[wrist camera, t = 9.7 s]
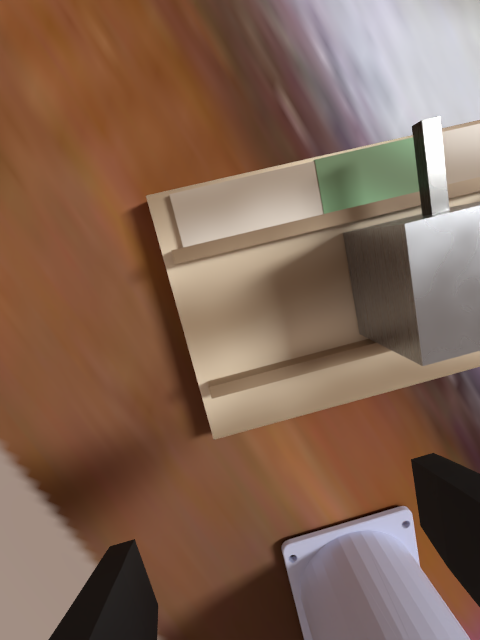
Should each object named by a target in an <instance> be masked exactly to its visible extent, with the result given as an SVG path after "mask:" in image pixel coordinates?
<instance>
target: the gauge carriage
mask: <svg viewBox="0 0 480 640" xmlns="http://www.w3.org/2000/svg"><path fill="white" fill-rule="evenodd" d="M412 132H413V140H414V149H415V158H416V166H417V175H418V184H419V192H420V201H421V210H422V214H418V215H414V216H410V217H406V218H401V219H397V220H393V221H389V222H385V223H381V224H377V225H373V226H368V227H364V228H360V229H356V230H352V231H348V232H344V233H343V237H344V243H345V250H346V256H347V262H348V268H349V274H350V280H351V286H352V292H353V298H354V304H355V310H356V316H357V322H358V328H359V334H360V335H362V336H364V337H366V338H368V339H370V340H372V341H374V342H376V343H378V344H380V345H382V346H384V347H386V348H388V349H390V350H392V351H394V352H396V353H398V354H400V355H402V356H404V357H406V358H408V359H410V360H411V361H413V362H415V363H417V364H419V365H421V366H425V365H429V364H433V363H436V362H440V361H444V360H447V359H451V358H455V357H459V356H462V355H466V354H470V353H473V352H477V351H480V202H475V203H470V204H464V205H459V206H453V207H449V199H448V189H447V179H446V169H445V159H444V149H443V139H442V128H441V118H440V116H439V117H434V118H430V119H425V120H422V121H420V122H418V123H417V124H415V125H413V126H412Z"/></svg>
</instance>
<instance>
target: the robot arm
mask: <svg viewBox="0 0 480 640" xmlns="http://www.w3.org/2000/svg"><path fill="white" fill-rule="evenodd" d="M411 462H412V469H413V476H414V483H415V490H416V497H417V504H418V511H419V518H420V525H421V527H422V529H423V530H424V532H425V533H426V535H427V536H428V538H429V539H430V541H431V543H432V544H433V546H434V547H435V549H436V550H437V552H438V553H439V555H440V556H441V558H442V559H443V561H444V562H445V564H446V565H447V567H448V568H449V569H450V571H451V572H452V573H453V574H454V576H455V577H456V578H457V579H458V581H459V582H460V583H461V584H462V586H463V587H464V588H465V589H466V591H467V592H468V593H469V594H470V596H471V597H472V598H473V599H474V601H475V602H476V603H477V604H478V606H479V607H480V474H479V473H477V472H475V471H472V470H470V469H468V468H466V467H464V466H462V465H459V464H457V463H455V462H453V461H451V460H448V459H446V458H444V457H442V456H439V455H437V454H434V453H432V454H428V455H425V456H421V457H418V458H414V459H411ZM404 521H405V522H404ZM403 522H404V523H403ZM282 553H283V557H284V561H285V565H286V569H287V573H288V577H289V581H290V585H291V589H292V593H293V597H294V601H295V605H296V609H297V613H298V617H299V621H300V625H301V629H302V633H303V637H304V640H471V639H470V638H469V636H468V635H467V634H466V632H465V631H464V629H463V628H462V626H461V625H460V624H459V622H458V621H457V619H456V618H455V616H454V615H453V614H452V612H451V611H450V609H449V608H448V606H447V605H446V603H445V602H444V601H443V599H442V598H441V596H440V595H439V593H438V592H437V591H436V589H435V588H434V586H433V585H432V583H431V582H430V581H429V579H428V578H427V576H426V575H425V573H424V572H423V571H422V569H421V568H420V564H419V557H418V550H417V544H416V537H415V530H414V523H413V516H412V513H411V511H410V510H409V509H408V508H407V507H405V506H400V507H396V508H393V509H390V510H386V511H383V512H380V513H376V514H373V515H370V516H366V517H363V518H359V519H356V520H353V521H349V522H346V523H343V524H339V525H336V526H333V527H329V528H326V529H322V530H319V531H316V532H312V533H309V534H306V535H302V536H299V537H296V538H292V539H289V540H286V541H285V542H284V543H283V544H282ZM291 555H294V556H292V557H290V556H291ZM157 624H158V603H157V600H156V598H155V595H154V592H153V589H152V587H151V584H150V581H149V578H148V575H147V573H146V570H145V567H144V564H143V561H142V559H141V556H140V553H139V550H138V547H137V545H136V542H135V539H134V540H131V541H127V542H124V543H120V544H117V545H113V546H110V547H109V549H108V550H107V552H106V553H105V555H104V556H103V558H102V559H101V561H100V562H99V564H98V565H97V567H96V568H95V570H94V571H93V573H92V575H91V576H90V578H89V579H88V581H87V582H86V584H85V585H84V587H83V588H82V590H81V591H80V593H79V595H78V596H77V598H76V599H75V601H74V602H73V604H72V605H71V607H70V608H69V610H68V612H67V613H66V614H65V616H64V617H63V619H62V620H61V622H60V623H59V625H58V627H57V628H56V629H55V631H54V633H53V634H52V635H51V637H50V638H49V640H157Z"/></svg>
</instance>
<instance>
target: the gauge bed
mask: <svg viewBox="0 0 480 640" xmlns="http://www.w3.org/2000/svg"><path fill="white" fill-rule="evenodd" d="M442 139H443V149H444V159H445V169H446V179H447V189H448V199H449V207H453V206H459V205H464V204H470V203H475V202H480V120H477V121H473V122H469V123H464V124H460V125H455V126H451V127H447V128H442ZM146 198H147V201H148V205H149V209H150V212H151V216H152V219H153V223H154V227H155V230H156V234H157V237H158V241H159V245H160V248H161V252H162V255H163V259H164V263H165V266H166V270H167V273H168V277H169V281H170V284H171V288H172V291H173V295H174V299H175V302H176V306H177V309H178V313H179V317H180V320H181V324H182V327H183V331H184V335H185V338H186V342H187V345H188V349H189V353H190V356H191V360H192V363H193V367H194V371H195V374H196V378H197V381H198V385H199V389H200V392H201V396H202V399H203V403H204V407H205V410H206V414H207V417H208V421H209V424H210V428H211V432H212V435H213V439H218V438H222V437H225V436H229V435H233V434H236V433H240V432H243V431H247V430H251V429H254V428H258V427H262V426H265V425H269V424H273V423H276V422H280V421H283V420H287V419H291V418H294V417H298V416H302V415H305V414H309V413H313V412H316V411H320V410H323V409H327V408H331V407H334V406H338V405H342V404H345V403H349V402H353V401H356V400H360V399H364V398H367V397H371V396H374V395H378V394H382V393H385V392H389V391H393V390H396V389H400V388H404V387H407V386H411V385H414V384H418V383H422V382H425V381H429V380H433V379H436V378H440V377H444V376H447V375H451V374H454V373H458V372H462V371H465V370H469V369H473V368H476V367H480V351H477V352H473V353H470V354H466V355H462V356H459V357H455V358H451V359H447V360H444V361H440V362H436V363H433V364H429V365H425V366H421V365H419V364H417V363H415V362H413V361H411V360H410V359H408V358H406V357H404V356H402V355H400V354H398V353H396V352H394V351H392V350H390V349H388V348H386V347H384V346H382V345H380V344H378V343H376V342H374V341H372V340H370V339H368V338H366V337H364V336H362V335H360V334H359V328H358V322H357V316H356V310H355V304H354V298H353V292H352V286H351V280H350V274H349V268H348V262H347V256H346V250H345V243H344V237H343V233H344V232H348V231H352V230H356V229H360V228H364V227H368V226H373V225H377V224H381V223H385V222H389V221H393V220H397V219H401V218H406V217H410V216H414V215H418V214H422V210H421V201H420V192H419V184H418V175H417V166H416V158H415V149H414V140H413V135H411V136H407V137H403V138H398V139H394V140H389V141H385V142H381V143H376V144H372V145H367V146H363V147H359V148H354V149H350V150H345V151H341V152H336V153H332V154H328V155H323V156H319V157H314V158H310V159H306V160H301V161H297V162H292V163H288V164H284V165H279V166H275V167H270V168H266V169H262V170H257V171H253V172H248V173H244V174H240V175H235V176H231V177H226V178H222V179H218V180H213V181H209V182H204V183H200V184H196V185H191V186H187V187H182V188H178V189H173V190H169V191H165V192H160V193H156V194H151V195H147V196H146Z"/></svg>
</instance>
